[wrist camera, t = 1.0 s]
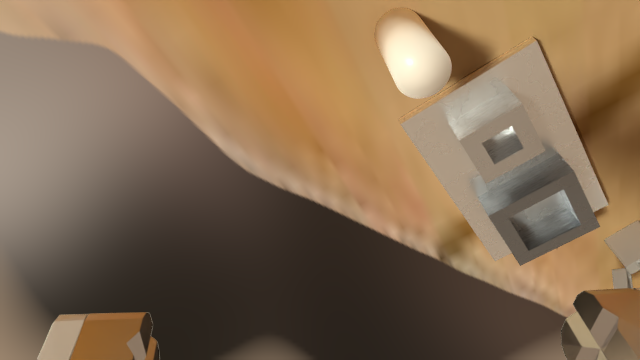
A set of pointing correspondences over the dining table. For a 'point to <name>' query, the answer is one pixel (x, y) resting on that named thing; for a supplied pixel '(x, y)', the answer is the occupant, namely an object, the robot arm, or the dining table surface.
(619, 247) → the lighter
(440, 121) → the fitting board
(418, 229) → the dining table surface
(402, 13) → the white rounded cylinder
